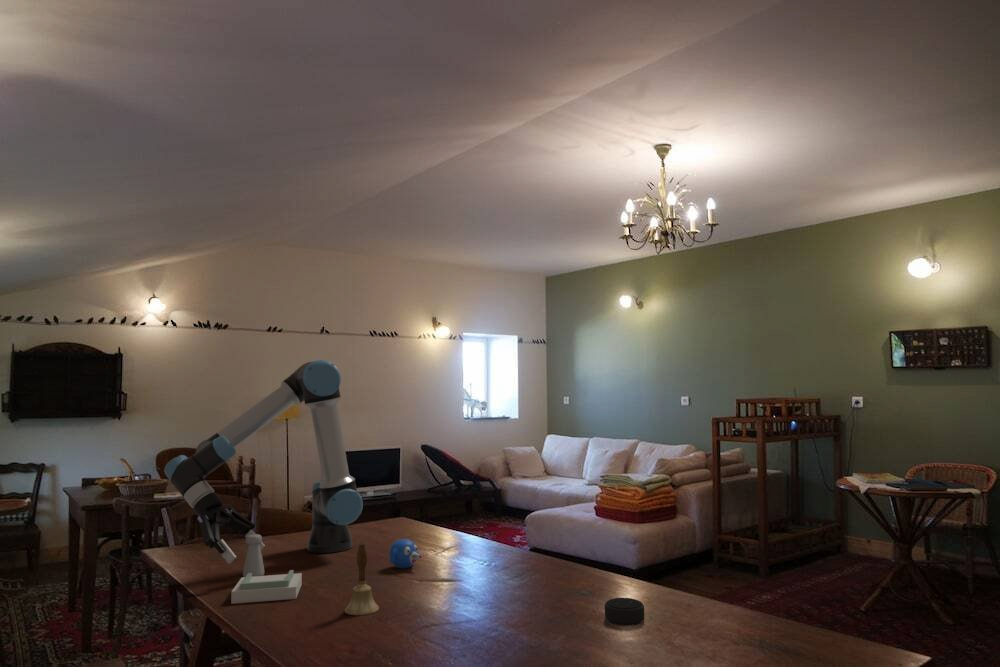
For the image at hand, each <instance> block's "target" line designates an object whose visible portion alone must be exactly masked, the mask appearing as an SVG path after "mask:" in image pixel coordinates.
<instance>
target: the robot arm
mask: <svg viewBox="0 0 1000 667" xmlns="http://www.w3.org/2000/svg"><path fill="white" fill-rule="evenodd" d="M341 381H342V376H341V372H340V370H339V368H338V366H336V365H335V364H334V363H333V362H331V361H329V360H328V361H327V360H323V359H316V360H314V361H307V362H305V363H304V364H302V365H301V366H299V367H298V368H297V369H296V370H295V371H294V372H293V373H292V374H290V375H289V376H288V377H286V378H285V379H283V380H282V381H281V383H280V386H279V387H278V388H277V389H275V390H273V391H272V392H271V393H269V394H268V395H267V396H265V397H264V398H262V399H261V400H260V401H259V402H256V404H254V405H253V406H251V407H250V408H249V409H248V410H246V411H245V412H243V413H242V414H240V415H238V417H236V418H235V419H233V420H232V421H230V422H229V423H228V424H227V425H225V426H224V427H222V428H220V430H218V431H217V432H216V433H215V434H213V435H212V436H210V437H209V438H207V439H204V440H203V441H201V442H199V444H198V445H197V446H196V449H195V453H194V454H193V455H191V456H189V457H188V456H186V455H184V454H180V455H178V456H176V457H174V458H172V459H171V460H169V461H168V462H167V463H166V465H165V467H164V469H163V472H164V475H165V476H166V478H167V479H168V481H169V482H170V483H171V484H172V486H174V488H175V489H176V490H177V492H178V493H179V494H180V495H181V496H182V497H183V499H184V500H185V501H186V502H187V504H188V505H189V506H190V508H192V509H193V511H194V512H195V513H194V514H196V516H198V517H197V518H196V519H195V521H196V522H197V524H198V526H199V529H200V532H201V537H202V539H203V543H204V545H205V546H206V547H208V548H210V549H213V548H215V549H216V550H217V552H218V554H220V555H221V556H222V557H223V559H224V560H225V562H226V563H227V564H228V565H230V564H232V562H233V561H234V560H235V559H236V558H237V555H236V554H235V553H234V551H233V550H232V549H231V548H230V546H228V544H227V543H226V541H225V540H224V539H223V538H222V539H220V527H222V526H225V527H230V528H233V529H234V530H236V531H238V532H240V533H243V534H244V535H245V536H244V537H245V538H246V537H247V536H249V535H253V534H257V533H256V532H255V531H254V529H255V528H256V524H255V523H253V522H252V521H251V520H249V519H248V518H247V517H245V516H243V515H242V514H241V513H239V512H238V511H236V510H235V508H234V507H233V506H231V505H229V506H228V507H227V508H224V507H223V500H222V498H221V497H220V495H218V493H217V492H215V489H214V488H213V487H212V486H211V485H210V484H209V483H208V481H207V480H206V479H205V478H206V477H207V476H209V475H210V474H211V473H212V472H214V471H215V470H217V469H218V468H219V467H221V466H222V465H224V464H225V463H226V462H229V461H230V460H231V459H232V457H234V456H235V455H236V454H237V450H236V448H237V447H238V446H240V445H241V444H242V443H244V442H245V441H247V440H248V439H249V438H250V437H252V436H253V435H254V434H256V433H257V432H258V431H260V430H261V429H263V428H264V427H265V426H267V425H268V424H270V422H271V423H272V421H273V420H275V419H276V418H277V417H279V416H280V415H281V414H283V413H284V412H286V411H287V410H288V409H290V408H291V407H293V406H294V405H300V404H301V403H302V402H304V405H305V406H306V407H308V408H309V409H310V413H311V419H312V424H313V430H314V431H313V432H314V436H315V437H314V438H315V442H316V443H315V444H316V448H317V453H318V458H319V465H320V471H321V477H322V481H316V482H314V483H313V484H312V490H311V494H312V497H311V498H312V501H311V502H312V504H311V505H312V506H311V507H312V508H311V509H312V511H311V512H312V528H311V530H310V534H309V537H308V540H307V544H306V550H307V551H308V552H311V553H315V554H316V553H317V554H328V553H329V554H330V553H337V552H344V551H347V550H350V549H351V548H353V539H352V538H353V537H352V535H351V531H350V529H349V527H348V526H349V524H352V523H354V522H355V521H357V519H358V518H359V517H360V515H361V514H362V511H363V507H364V503H363V499H362V497H361V495H360V493H359V492H358V489H357V484H356V478H355V477H353V476H352V475H350V471H349V465H348V460H347V459H348V458H347V453H346V448H345V442H344V436H343V431H342V425H341V419H340V414H339V408H338V403H339V401H340V400H341V392H340V385H341ZM265 547H266V545H265V543H264V541H262V542H261V543H260V548H261V551H262V550H263V549H264V548H265Z"/></svg>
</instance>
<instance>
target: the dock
mask: <svg viewBox="0 0 1000 667" xmlns="http://www.w3.org/2000/svg"><path fill="white" fill-rule="evenodd" d="M294 570H295V569H290V570H289V571H288V573H287V574H285V573H283V574H272V575H269V574H268V575H263V576H254V577H252V573H248V574H247V575H246V577H244V576H243V577H241V578H240V579H239V581H238V582H237V583H236V585H235V586H234V587H233V589H232V590H231V592H230V594H231V595H230V596H231V597H230V598H231V599H230V600H231V602H230V603H231V604H245V603H247V604H248V603H258V602H259V603H260V602H270V601H284V600H285V601H286V600H295V599H297V597H298V595H299V592H300V590H301V587H302V582H303V579H302V577H303V574H302V572H299V573H294V572H295V571H294Z"/></svg>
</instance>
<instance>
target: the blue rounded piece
mask: <svg viewBox="0 0 1000 667" xmlns="http://www.w3.org/2000/svg"><path fill="white" fill-rule="evenodd" d="M389 548H390V549H389V552H388V554H389V563H391V564H392V565H393V566H395V567H396V568H398V569H407V568H410V567H412V566H413V565H414V564H415V563H416V562H417V561H418V560H419V559H422V558H423V555H422V554H420V553H419V548H418V546H417V545H416V543H415V542H414V541H412V540H411V539H407V538H402V539H398V540H396V541H394V543H392V545H391V546H390V547H389Z"/></svg>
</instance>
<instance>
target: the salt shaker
mask: <svg viewBox="0 0 1000 667" xmlns="http://www.w3.org/2000/svg"><path fill="white" fill-rule="evenodd" d="M261 542H263V537H262V535H261V534H259V533H258V534H257V533H256V534H253V535H249V536H247V537H245V543H246V545H248V547H247V551H246V555H245V556H246V557H245V560H244V566H243V572H242V576H243V577H246V575H247V574H248V573H252V577H254V576H265V566H264V561H263V560H264V559H263V554H262V550H261V548H260V543H261Z"/></svg>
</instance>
